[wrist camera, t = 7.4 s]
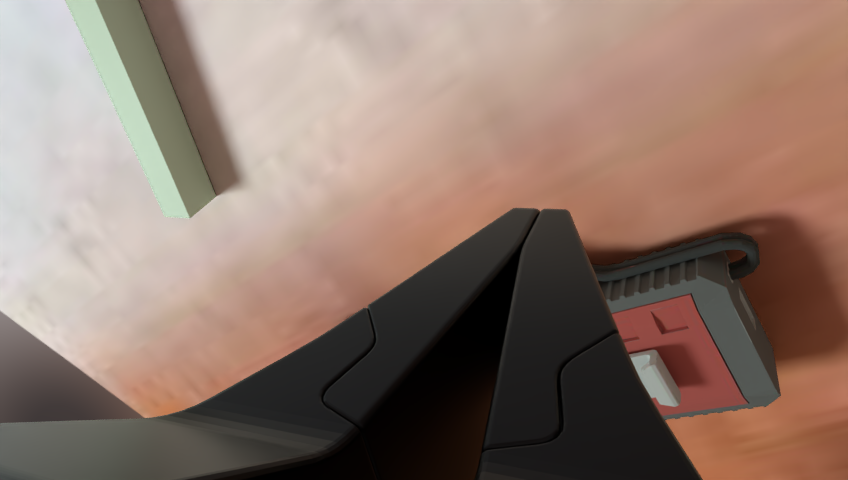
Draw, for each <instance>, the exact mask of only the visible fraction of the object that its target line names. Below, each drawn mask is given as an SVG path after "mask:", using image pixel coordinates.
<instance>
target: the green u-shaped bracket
mask: <svg viewBox="0 0 848 480" xmlns="http://www.w3.org/2000/svg"><path fill="white" fill-rule="evenodd" d="M65 1H66V4H67V6H68V8H69V10H70V12H71V14H72V17H73V19H74V21H75V23H76V25H77V27H78V30H79V32H80V34H81V36H82V38H83V40H84V43H85V45H86V47H87V49H88V51H89V53H90V56H91V58H92V60H93V62H94V64H95V66H96V69H97V71H98V73H99V75H100V77H101V79H102V82H103V84H104V86H105V88H106V90H107V93H108V95H109V97H110V99H111V101H112V103H113V106H114V108H115V110H116V112H117V114H118V116H119V119H120V121H121V123H122V125H123V127H124V129H125V132H126V134H127V136H128V138H129V140H130V142H131V145H132V147H133V149H134V151H135V153H136V155H137V158H138V160H139V162H140V164H141V166H142V168H143V171H144V173H145V175H146V177H147V179H148V182H149V184H150V186H151V188H152V190H153V192H154V195H155V197H156V199H157V201H158V203H159V205H160V208H161V210H162V212H163V214H164V216H165V217H177V218H191V217H192V216H193V215H194V214H196V213H197V212H198V211H199V210H200V209H202V208H203V207H204V206H205V205H207V204H208V203H209V202H210V201H211V200H213V199H214V198H215V197H216V195H215V193H214V190H213V188H212V185H211V182H210V180H209V177H208V175H207V172H206V170H205V167H204V165H203V162H202V160H201V157H200V155H199V152H198V150H197V147H196V145H195V142H194V140H193V137H192V135H191V132H190V130H189V127H188V125H187V122H186V120H185V117H184V115H183V112H182V110H181V107H180V105H179V102H178V99H177V97H176V94H175V92H174V89H173V87H172V84H171V82H170V79H169V77H168V74H167V72H166V69H165V67H164V64H163V62H162V59H161V57H160V54H159V52H158V49H157V47H156V44H155V42H154V39H153V37H152V34H151V32H150V29H149V27H148V24H147V22H146V19H145V16H144V14H143V11H142V9H141V6H140V4H139V1H138V0H65Z"/></svg>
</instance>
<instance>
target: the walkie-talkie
mask: <svg viewBox="0 0 848 480" xmlns="http://www.w3.org/2000/svg"><path fill="white" fill-rule="evenodd" d="M735 249H736V250H741V251H744V252H745V253H747V254H746V256H745V257H743V258H742V259H740V260H738V261H735V262H732V263H731V262H730V260H729V258H728V256H727V254H726V252H725V250H735ZM759 264H760V258H759V250H758V243H757V242H756V241H755V240H754V239H753V238H752V237H751V236H748V235H746V234H743V233H720V234H717V235H714V236H710V237H707V238H703V239H696V240H695V241H693V242H690V243H687V244H686V243H681V244H680V246H677V247H673V248H671V247H668V248H666V250H663V251H660V252H656V251H655V252H652V253H651V254H650V255H646V256H642V255H641V256H638V258H636V259H633V260H624V262H623V263H619V264H615V263H614V264H611V265H608V266H603V265H594V264H593V265H592V268H593V270H594V272H595V275H596V277H597V280H598V282H599V285H600V287H601V289H602V292H603V294H604V297H605V299H606V302H607V304H608V306H609V309H610V311H611V314H612V316H613V318H614V321H615V323H616V326H617V328H618V331H619V335H621V337H622V339H623V342H624V344H625V347H626V349H627V351H628V354H629V356H630V358H631V360H632V362H633V364H634V366H635V369H636V371H637V373H638V375H639V377H640V379H641V381H642V383H643V385H644V386H645V388H646V390H647V391H648V393H649V395H650V397H651V398H652V400H653V402H654V403H655V405H656V407H657V409H658V410H659V412H660V414H661V415H662V417H663V418H664V420H666V419H672V418H675V419H678V418H680V417H686V416H689V417H693V416H694V415H700V414H703V415H707V414H708V413H716V412H717V413H722V412H723V411H730V410H732V411H737V410H738V409H745V408H748V409H752V408H753V407H760V406H764V407H766V406H768V405H769V404H770V403H772V402H773V401H774V400H776V399H777V398H778V397H780V396H781V394H780V388H779V382H778V376H777V370H776V364H775V358H774V352H773V348H772V346H771V344H770V342H769V340H768V338H767V336H766V334H765V331H764V329H763V327H762V325H761V323H760V321H759V319H758V317H757V315H756V313H755V311H754V309H753V307H752V305H751V303H750V301H749V299H748V297H747V295H746V293H745V291H744V289H743V287H742V285H741V283H740V281H739V278H742V277H745V276H747V275H749V274H750V273H752V272H754V270H755V269H756V268H757V267H758V265H759ZM327 332H328V331H327Z"/></svg>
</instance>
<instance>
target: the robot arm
mask: <svg viewBox="0 0 848 480" xmlns="http://www.w3.org/2000/svg"><path fill="white" fill-rule="evenodd" d="M0 480H703V479H702V478H701V476H700V475H699V473H698V472H697V470H696V468H695V467H694V465H693V464H692V462H691V461H690V459H689V457H688V456H687V454H686V453H685V451H684V450H683V448H682V446H681V445H680V443H679V442H678V440H677V439H676V437H675V435H674V434H673V432H672V431H671V429H670V428H669V426H668V425H667V423H666V421H665V420H664V418H663V417H662V415H661V414H660V412H659V410H658V409H657V407H656V405H655V403H654V402H653V400H652V398H651V397H650V395H649V393H648V391H647V390H646V388H645V386H644V385H643V383H642V381H641V379H640V377H639V375H638V373H637V371H636V369H635V366H634V364H633V362H632V360H631V358H630V356H629V354H628V351H627V349H626V347H625V344H624V342H623V339H622V337H621V335H619V331H618V328H617V326H616V323H615V321H614V318H613V316H612V314H611V311H610V309H609V306H608V304H607V302H606V299H605V297H604V294H603V292H602V289H601V287H600V285H599V282H598V280H597V277H596V275H595V272H594V270H593V268H592V265H591V263H590V260H589V258H588V256H587V253H586V251H585V248H584V246H583V243H582V241H581V239H580V236H579V234H578V231H577V229H576V227H575V224H574V222H573V219H572V217H571V214H570V212H569V211H568V210H565V209H543V210H541V212H540V211H539V210H538V209H534V208H513V209H512V210H510V211H508V212H507V213H505V214H504V215H502V216H501V217H499V218H498V219H496V220H495V221H493V222H492V223H490V224H489V225H487V226H486V227H484V228H483V229H481V230H480V231H478V232H477V233H475V234H474V235H472V236H471V237H469V238H468V239H466V240H465V241H463V242H462V243H460V244H459V245H457V246H456V247H454V248H453V249H451V250H450V251H448V252H447V253H445V254H444V255H442V256H441V257H439V258H438V259H437V260H435V261H434V262H432V263H431V264H429V265H428V266H426V267H425V268H423V269H422V270H420V271H419V272H417V273H416V274H414V275H413V276H411V277H410V278H408V279H407V280H405V281H404V282H402V283H401V284H399V285H398V286H396V287H395V288H393V289H392V290H390V291H389V292H387V293H386V294H384V295H383V296H381V297H380V298H378V299H377V300H375V301H374V302H372V303H371V304H369V305H368V309H367V308H363V309H361V310H360V311H358V312H357V313H355V314H354V315H352V316H351V317H349V318H348V319H346V320H345V321H343V322H342V323H340V324H339V325H337V326H335V327H334V328H332V329H331V330H329V331H328V332H326V333H324V334H323V335H321V336H320V337H318V338H316V339H315V340H313V341H311V342H309V343H308V344H306V345H304V346H303V347H301V348H299V349H297V350H296V351H294V352H292V353H290V354H289V355H287V356H285V357H283V358H282V359H280V360H278V361H276V362H274V363H273V364H271V365H269V366H267V367H265V368H263V369H262V370H260V371H258V372H256V373H254V374H253V375H251V376H249V377H247V378H245V379H244V380H242V381H240V382H238V383H236V384H235V385H233V386H231V387H229V388H227V389H226V390H224V391H222V392H220V393H218V394H216V395H215V396H213V397H211V398H209V399H207V400H205V401H203V402H201V403H199V404H197V405H195V406H193V407H190V408H187V409H185V410H182V411H179V412H175V413H172V414H168V415H164V416H158V417H152V418H141V419H112V420H81V421H54V422H52V421H51V422H22V423H0Z"/></svg>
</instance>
